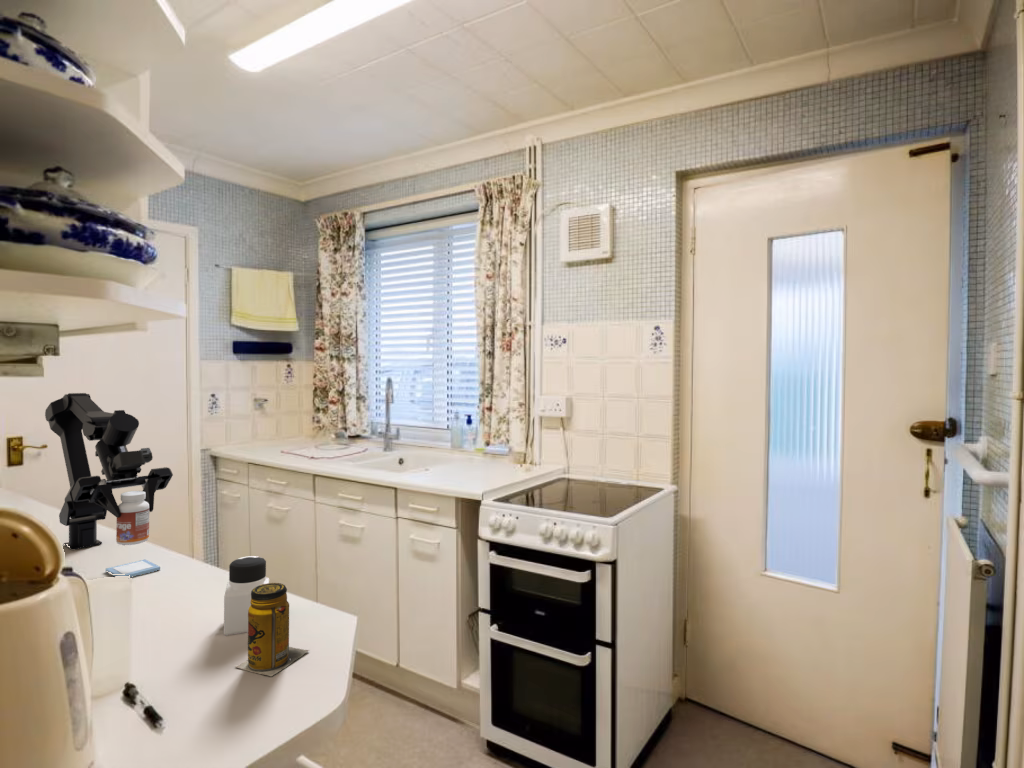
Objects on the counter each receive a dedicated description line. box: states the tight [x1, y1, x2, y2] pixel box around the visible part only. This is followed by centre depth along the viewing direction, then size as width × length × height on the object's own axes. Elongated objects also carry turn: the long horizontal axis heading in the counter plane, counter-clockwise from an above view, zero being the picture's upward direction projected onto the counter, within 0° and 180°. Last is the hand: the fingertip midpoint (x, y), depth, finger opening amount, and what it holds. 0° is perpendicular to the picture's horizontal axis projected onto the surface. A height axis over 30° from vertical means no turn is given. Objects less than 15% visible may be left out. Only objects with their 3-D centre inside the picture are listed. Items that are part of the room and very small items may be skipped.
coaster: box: [105, 559, 161, 578], centre depth 127 cm, size 8×8×1 cm
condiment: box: [234, 582, 310, 677], centre depth 90 cm, size 7×8×12 cm
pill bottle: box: [115, 490, 150, 546], centre depth 127 cm, size 6×6×11 cm
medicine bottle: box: [223, 555, 270, 636], centre depth 102 cm, size 7×7×12 cm
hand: (135, 513), depth 126 cm, fingers closed on pill bottle, 6 cm apart
